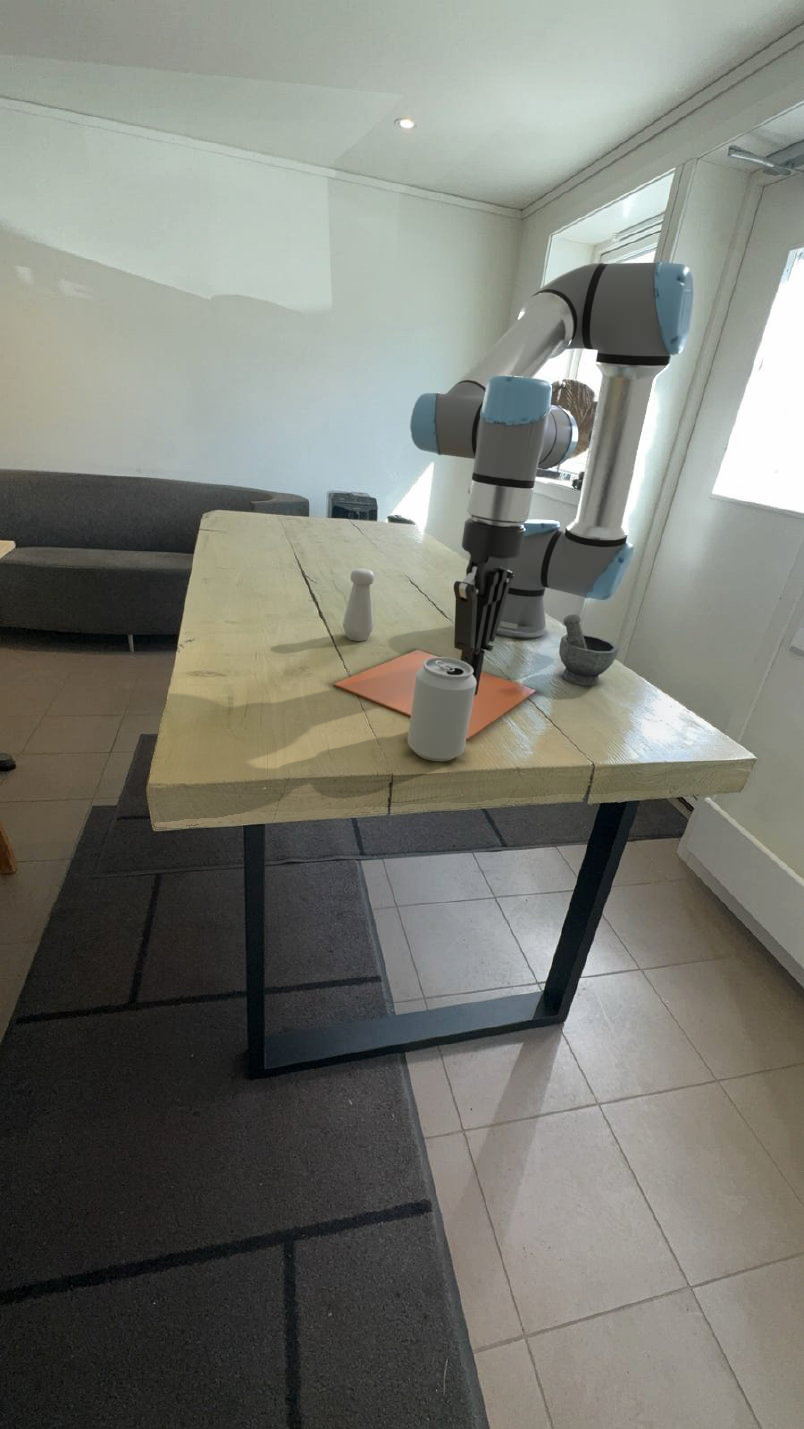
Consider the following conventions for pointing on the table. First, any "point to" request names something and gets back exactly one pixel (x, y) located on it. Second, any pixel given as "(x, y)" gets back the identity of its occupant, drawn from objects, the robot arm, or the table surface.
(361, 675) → the orange square board
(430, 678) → the can
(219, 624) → the table surface
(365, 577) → the salt shaker
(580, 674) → the mortar and pestle
